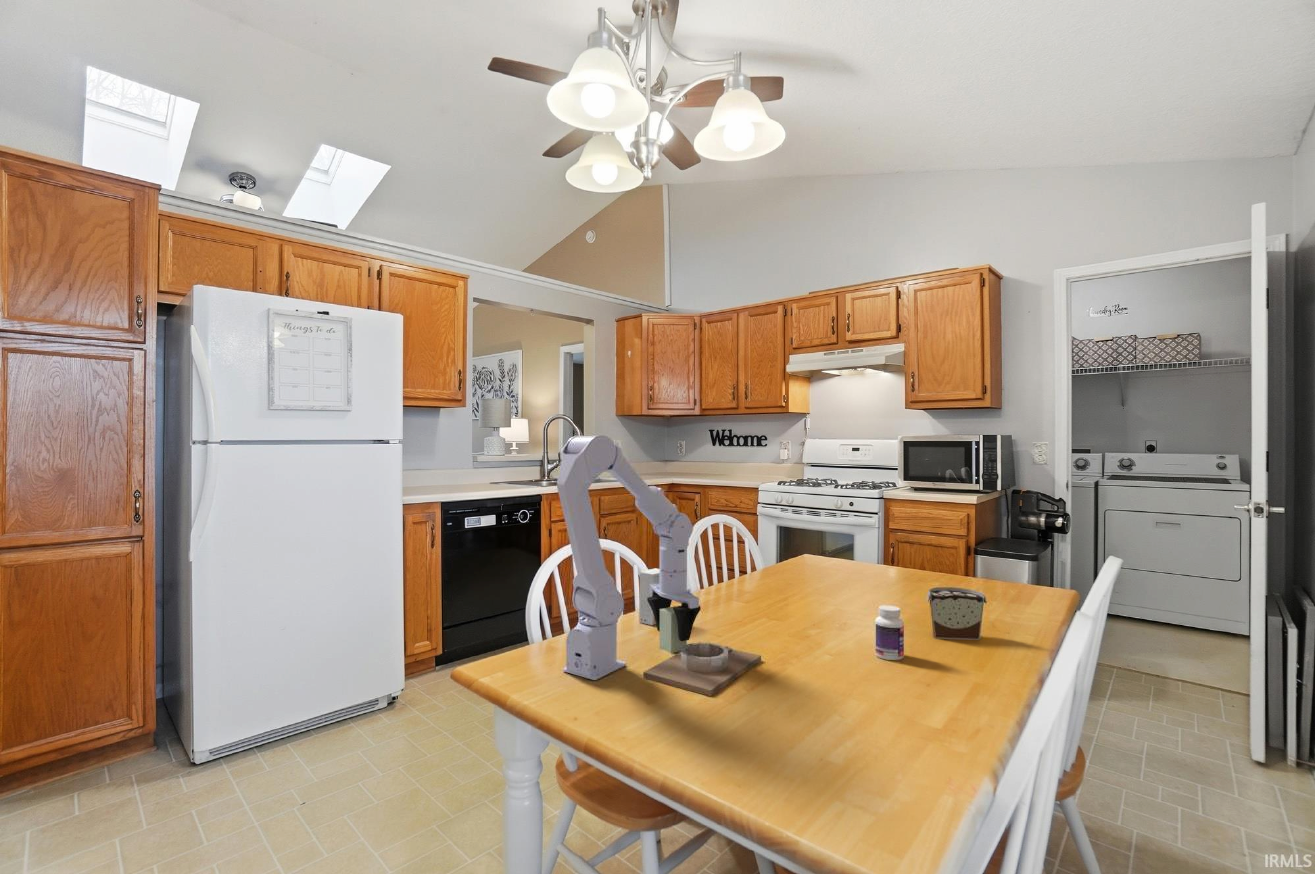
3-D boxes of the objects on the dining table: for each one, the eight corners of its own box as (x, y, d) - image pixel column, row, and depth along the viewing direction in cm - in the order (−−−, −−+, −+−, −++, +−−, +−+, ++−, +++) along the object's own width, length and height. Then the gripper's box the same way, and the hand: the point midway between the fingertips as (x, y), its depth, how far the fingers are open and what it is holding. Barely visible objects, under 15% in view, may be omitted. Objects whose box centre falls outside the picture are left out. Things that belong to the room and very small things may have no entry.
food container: (974, 631, 138) (974, 587, 138) (986, 640, 131) (986, 593, 131) (918, 629, 139) (918, 585, 139) (927, 638, 133) (927, 592, 133)
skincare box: (652, 626, 141) (653, 574, 141) (638, 622, 143) (638, 572, 143) (668, 620, 146) (668, 570, 146) (654, 616, 148) (654, 567, 148)
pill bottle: (906, 662, 118) (906, 612, 118) (877, 660, 119) (877, 610, 119) (901, 652, 124) (901, 604, 124) (873, 650, 125) (873, 603, 125)
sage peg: (686, 649, 125) (686, 610, 125) (671, 653, 123) (671, 613, 123) (674, 644, 129) (675, 606, 129) (659, 647, 126) (659, 609, 126)
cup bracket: (710, 696, 102) (710, 675, 102) (643, 677, 110) (643, 658, 110) (761, 660, 119) (761, 642, 119) (699, 646, 127) (699, 629, 127)
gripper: (710, 573, 122) (710, 640, 122) (668, 561, 134) (668, 623, 134) (683, 578, 118) (683, 647, 118) (641, 565, 130) (641, 628, 130)
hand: (673, 635), depth 126 cm, fingers open, 7 cm apart
